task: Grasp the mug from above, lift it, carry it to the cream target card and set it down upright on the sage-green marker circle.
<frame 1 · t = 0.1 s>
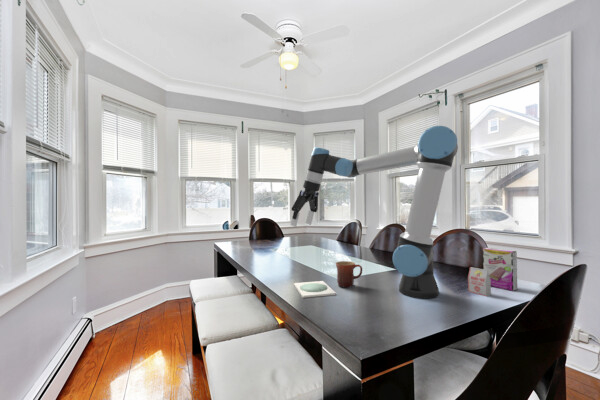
hand: (301, 224, 125), 28 cm above the table, tool tilted 20°, fingers open, 13 cm apart
target card: (313, 289, 116), on the table
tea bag: (479, 293, 108), on the table
candy bar box: (500, 287, 115), on the table
mug: (349, 286, 121), on the table
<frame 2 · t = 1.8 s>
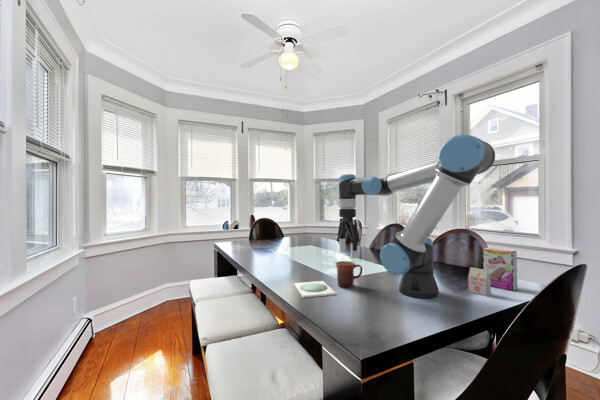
hand: (348, 255, 121), 14 cm above the table, tool pointing down, fingers open, 13 cm apart
nothing on the table moved.
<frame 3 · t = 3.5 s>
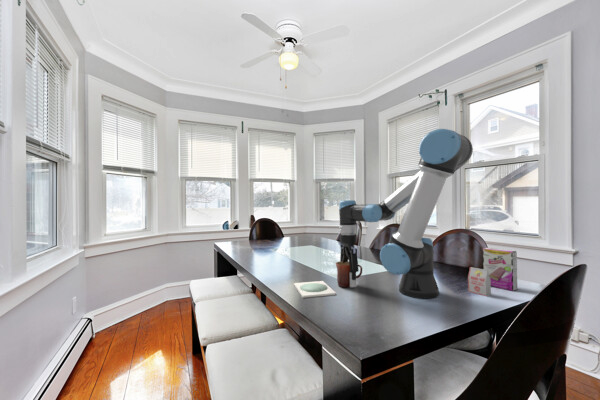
hand: (349, 283, 121), 1 cm above the table, tool pointing down, fingers open, 8 cm apart
mug: (349, 286, 121), on the table, touching gripper
everything else where it was.
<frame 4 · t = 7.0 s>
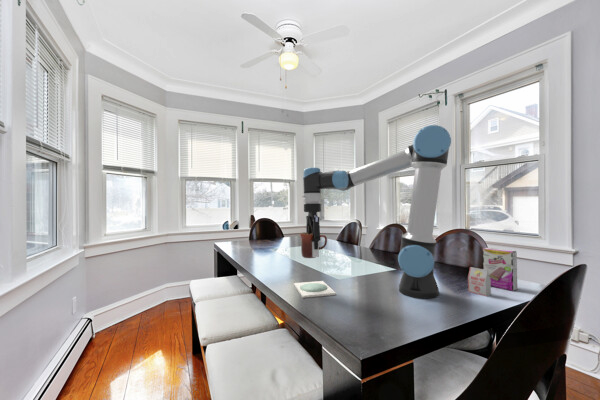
hand: (313, 255, 117), 15 cm above the table, tool pointing down, fingers closed on mug, 7 cm apart
mug: (313, 257, 116), point 14 cm above the table, touching gripper
everything else where it was.
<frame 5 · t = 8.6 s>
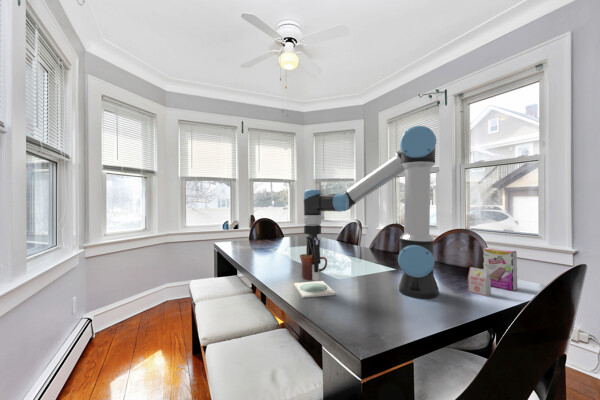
hand: (313, 276, 116), 5 cm above the table, tool pointing down, fingers closed on mug, 7 cm apart
mug: (313, 279, 116), point 4 cm above the table, touching gripper
everything else where it was.
when the fingers open (3 cm above the table, at t = 10.0 s): mug stays where it is, resting on target card.
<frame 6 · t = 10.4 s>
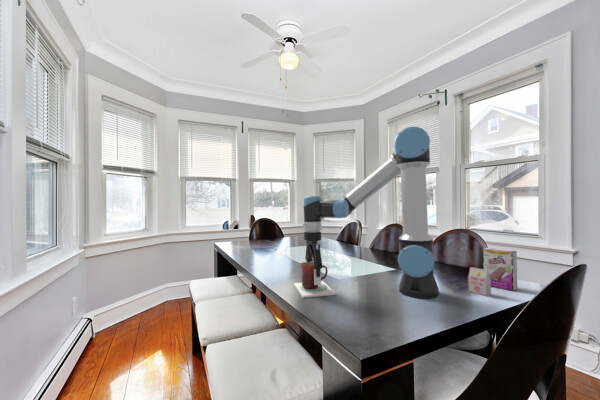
hand: (313, 280, 116), 4 cm above the table, tool pointing down, fingers open, 12 cm apart
mug: (314, 288, 116), point 1 cm above the table, touching target card
everything else where it was.
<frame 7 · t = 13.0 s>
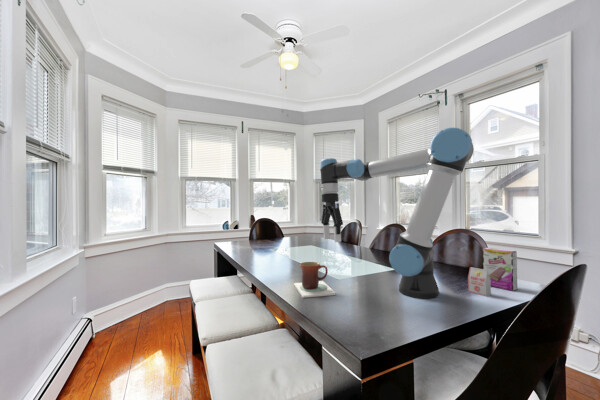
hand: (332, 240, 119), 21 cm above the table, tool pointing down, fingers open, 13 cm apart
nothing on the table moved.
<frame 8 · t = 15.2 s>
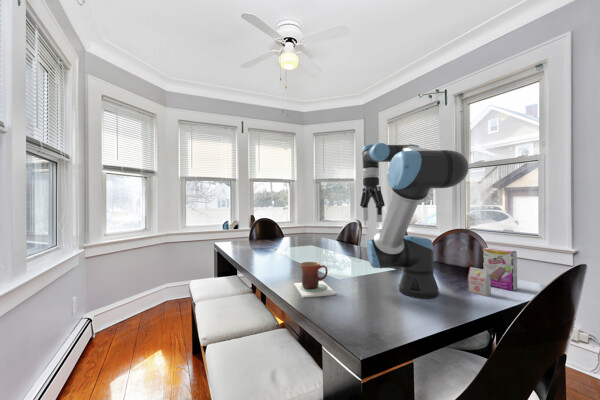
hand: (371, 221, 128), 29 cm above the table, tool pointing down, fingers open, 13 cm apart
nothing on the table moved.
at the end: mug inside the target area on the target card (0.5 cm from its centre), point 0.8 cm above the target card's base; mug tilted 0°; the gripper is holding nothing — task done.
